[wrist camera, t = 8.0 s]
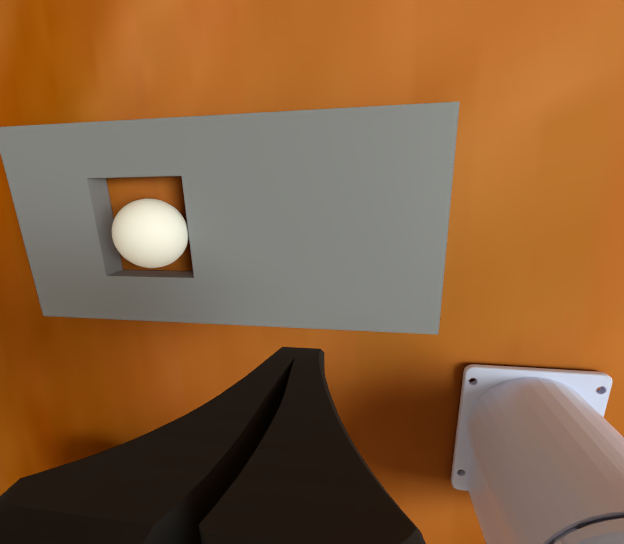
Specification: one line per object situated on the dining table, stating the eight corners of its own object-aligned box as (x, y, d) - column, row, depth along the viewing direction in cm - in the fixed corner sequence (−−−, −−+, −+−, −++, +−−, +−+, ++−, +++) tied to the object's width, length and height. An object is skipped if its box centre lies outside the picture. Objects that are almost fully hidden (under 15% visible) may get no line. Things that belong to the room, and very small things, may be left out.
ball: (123, 258, 21) (189, 249, 22) (117, 284, 17) (196, 272, 19) (107, 194, 19) (180, 190, 20) (98, 210, 16) (186, 204, 17)
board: (432, 323, 20) (438, 334, 18) (62, 307, 24) (43, 315, 22) (451, 108, 17) (459, 101, 15) (19, 131, 21) (-7, 127, 19)
